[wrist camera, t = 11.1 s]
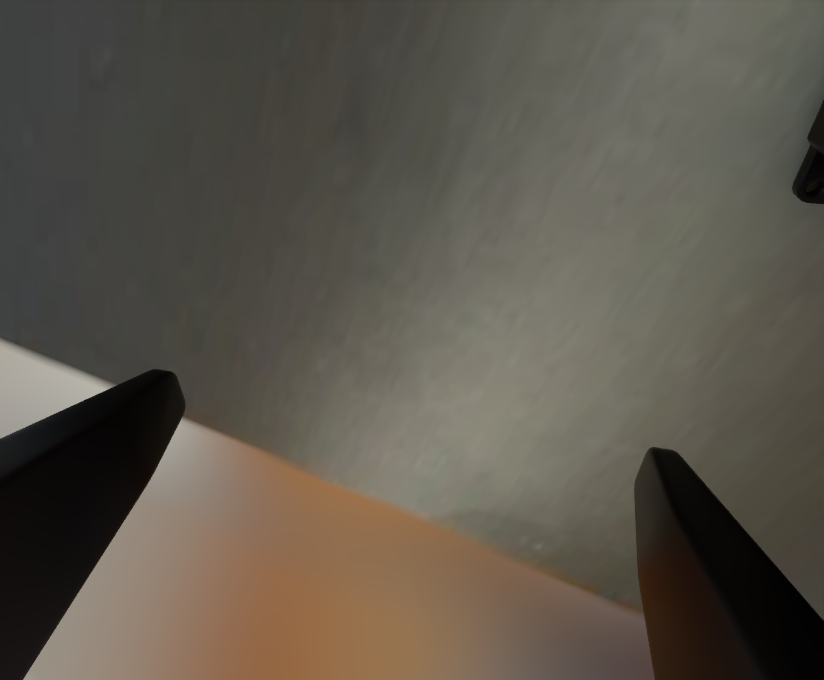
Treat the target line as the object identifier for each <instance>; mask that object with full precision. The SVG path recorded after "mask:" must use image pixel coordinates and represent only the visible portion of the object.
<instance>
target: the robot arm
mask: <svg viewBox="0 0 824 680" xmlns="http://www.w3.org/2000/svg"><path fill="white" fill-rule="evenodd" d="M808 141H809V142H810V144H811V146H810V148H809V150H808V152H807V155H806V157H805V159H804V161H803V163H802V166H801V168H800V170H799V172H798V174H797V177H796V179H795V181H794V184H793V188H792V189H793V193H794V194H795V195H796V196H797V197H798V198H799V199H800V200H801V201H803V202H807V203H817V204H824V101H823V103H822V105H821V108H820V110H819V112H818V114H817V117H816V119H815V121H814V123H813V126H812V128H811V130H810V132H809V135H808ZM817 180H819V185H818V186H817V187H816V189H814V190H812V191H808V192H806V187H807V186H808V185H809V184H810V183H811V182H813V181H817ZM185 406H186V405H185V399H184V396H183V393H182V390H181V387H180V384H179V381H178V378H177V376H176V375H175V374H174V373H173V372H171V371H165V370H159V369H153V370H150V371H148V372H145V373H143V374H141V375H139V376H137V377H134V378H132V379H130V380H128V381H126V382H123V383H121V384H119V385H117V386H115V387H113V388H110V389H108V390H106V391H104V392H102V393H99V394H97V395H95V396H93V397H91V398H89V399H86V400H84V401H82V402H80V403H78V404H75V405H73V406H71V407H69V408H67V409H65V410H62V411H60V412H58V413H56V414H53V415H51V416H49V417H47V418H45V419H43V420H40V421H38V422H36V423H34V424H32V425H29V426H28V427H25V428H23V429H21V430H19V431H16V432H14V433H12V434H10V435H8V436H5V437H3V438H1V439H0V680H23V679H24V677H25V675H26V674H27V672H28V671H29V669H30V668H31V666H32V665H33V663H34V661H35V660H36V658H37V657H38V655H39V654H40V652H41V650H42V649H43V647H44V646H45V644H46V643H47V641H48V640H49V638H50V636H51V635H52V633H53V632H54V630H55V629H56V627H57V625H58V624H59V622H60V621H61V619H62V617H63V616H64V614H65V613H66V611H67V610H68V608H69V607H70V605H71V603H72V602H73V600H74V599H75V597H76V596H77V594H78V592H79V591H80V589H81V588H82V586H83V585H84V583H85V581H86V580H87V578H88V577H89V575H90V574H91V572H92V571H93V569H94V567H95V566H96V564H97V563H98V561H99V559H100V558H101V556H102V555H103V553H104V552H105V550H106V549H107V547H108V545H109V544H110V542H111V541H112V539H113V538H114V536H115V534H116V533H117V531H118V529H119V528H120V527H121V525H122V523H123V522H124V520H125V519H126V517H127V515H128V514H129V512H130V511H131V509H132V508H133V506H134V505H135V503H136V501H137V500H138V498H139V497H140V495H141V494H142V492H143V490H144V489H145V487H146V486H147V484H148V482H149V481H150V479H151V477H152V475H153V473H154V472H155V470H156V468H157V466H158V464H159V462H160V460H161V458H162V456H163V454H164V452H165V450H166V448H167V446H168V444H169V442H170V440H171V438H172V436H173V434H174V432H175V430H176V428H177V426H178V424H179V422H180V420H181V418H182V416H183V414H184V411H185ZM634 495H635V519H636V543H637V565H638V577H639V585H640V592H641V598H642V604H643V610H644V616H645V622H646V628H647V635H648V641H649V647H650V653H651V659H652V665H653V671H654V677H655V680H824V621H823V619H822V618H821V617H820V616H819V615H818V614H817V613H816V611H815V610H814V609H813V608H812V607H811V606H810V604H809V603H808V602H807V601H806V600H805V599H804V598H803V596H802V595H801V594H800V593H799V592H798V591H797V589H796V588H795V587H794V586H793V585H792V584H791V583H790V581H789V580H788V579H787V578H786V577H785V576H784V574H783V573H782V572H781V571H780V570H779V569H778V568H777V566H776V565H775V564H774V563H773V562H772V561H771V559H770V558H769V557H768V556H767V555H766V554H765V553H764V551H763V550H762V549H761V548H760V547H759V546H758V545H757V543H756V542H755V541H754V540H753V539H752V538H751V536H750V535H749V534H748V533H747V532H746V531H745V530H744V528H743V527H742V526H741V525H740V524H739V523H738V521H737V520H736V519H735V518H734V517H733V516H732V515H731V513H730V512H729V511H728V510H727V509H726V508H725V506H724V505H723V504H722V503H721V502H720V501H719V500H718V498H717V497H716V496H715V495H714V494H713V493H712V491H711V490H710V489H709V488H708V487H707V486H706V485H705V483H704V482H703V481H702V480H701V479H700V478H699V477H698V475H697V474H696V473H695V472H694V471H693V470H692V468H691V467H690V466H689V465H688V464H687V463H686V462H685V460H684V459H683V458H682V457H681V456H680V455H679V454H678V453H677V452H676V451H674V450H670V449H663V448H657V447H651V448H649V449H648V451H647V452H646V454H645V457H644V459H643V462H642V464H641V467H640V469H639V472H638V474H637V477H636V480H635V487H634Z"/></svg>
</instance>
